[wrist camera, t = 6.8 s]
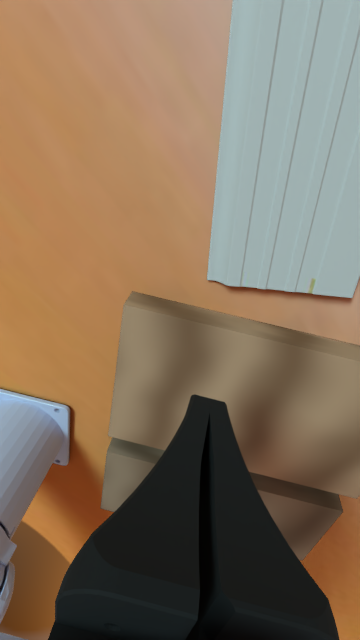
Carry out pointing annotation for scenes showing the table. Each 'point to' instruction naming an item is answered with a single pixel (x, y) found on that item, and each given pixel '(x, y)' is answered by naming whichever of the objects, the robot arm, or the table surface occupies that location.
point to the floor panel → (278, 495)
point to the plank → (242, 389)
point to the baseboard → (290, 149)
